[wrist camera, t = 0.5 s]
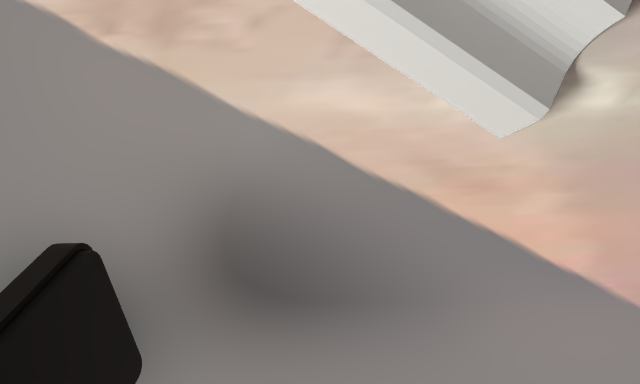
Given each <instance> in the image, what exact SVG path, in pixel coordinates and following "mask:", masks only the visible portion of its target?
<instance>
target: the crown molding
mask: <svg viewBox="0 0 640 384" xmlns="http://www.w3.org/2000/svg"><path fill="white" fill-rule="evenodd" d="M293 1H294V2H296V3H297V4H299V5H300V6H302V7H303V8H305V9H306V10H308V11H309V12H311V13H312V14H314V15H315V16H317V17H318V18H320V19H321V20H323V21H324V22H326V23H327V24H329V25H330V26H332V27H333V28H335V29H336V30H338V31H339V32H341V33H342V34H344V35H345V36H347V37H348V38H350V39H351V40H353V41H354V42H356V43H357V44H359V45H360V46H362V47H363V48H365V49H366V50H368V51H369V52H371V53H372V54H374V55H375V56H377V57H378V58H380V59H381V60H383V61H384V62H386V63H387V64H389V65H390V66H392V67H393V68H395V69H396V70H398V71H399V72H401V73H402V74H404V75H405V76H407V77H408V78H410V79H411V80H413V81H414V82H416V83H417V84H419V85H420V86H422V87H423V88H425V89H426V90H428V91H429V92H431V93H432V94H434V95H435V96H437V97H438V98H440V99H441V100H443V101H444V102H446V103H447V104H449V105H450V106H452V107H453V108H455V109H456V110H458V111H459V112H461V113H462V114H464V115H465V116H467V117H468V118H470V119H471V120H473V121H474V122H476V123H477V124H479V125H480V126H481V127H483V128H484V129H486V130H487V131H489V132H490V133H492V134H493V135H495V136H496V137H498V138H499V139H501V138H503V137H505V136H507V135H509V134H512V133H514V132H516V131H518V130H520V129H522V128H524V127H527V126H529V125H531V124H533V123H535V122H537V121H539V120H541V118H542V117H543V116H544V115H545V114H546V113H547V112H548V111H549V110H550V108H551V106H552V103H553V101H554V99H555V97H556V94H557V92H558V90H559V88H560V85H561V83H562V81H563V79H564V76H565V74H566V72H567V70H568V69H569V67H570V65H571V64H572V62H573V61H574V59H575V58H576V57H577V55H578V54H579V53H580V52H581V51H582V50H583V49H584V47H585V46H586V45H587V44H588V43H589V42H591V41H592V40H593V39H594V38H595V37H596V36H597V35H599V34H600V33H601V32H602V31H604V30H605V29H606V28H608V27H609V26H611V25H612V24H614V23H615V22H617V21H619V20H620V19H622V18H624V17H625V16H626V14H627V11H628V9H629V6H630V4H631V2H632V0H293Z"/></svg>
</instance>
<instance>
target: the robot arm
mask: <svg viewBox="0 0 640 384" xmlns="http://www.w3.org/2000/svg"><path fill="white" fill-rule="evenodd" d="M141 368H142V359H141V355H140V353H139V350H138V348H137V345H136V343H135V340H134V338H133V335H132V333H131V331H130V328H129V326H128V323H127V321H126V318H125V316H124V313H123V311H122V309H121V306H120V303H119V301H118V298H117V296H116V293H115V291H114V289H113V286H112V284H111V281H110V279H109V276H108V274H107V271H106V269H105V266H104V264H103V262H102V259H101V257H100V255H99V254H98V253H97V252H95V251H93V250H92V248H91V247H90V246H88V245H87V244H84V243H62V244H60V243H59V244H53V245H51V246H50V247H48V248H47V249H46V250H45V251H44V252H43V253H42V254H41V255H40V256H39V257H37V258H36V259H35V260H34V261H33V262H32V263H31V264H30V265H29V266H28V267H27V268H26V269H25V270H24V271H23V272H22V273H21V274H20V275H19V276H18V277H16V278H15V279H14V280H13V281H12V282H11V283H10V284H9V285H8V286H7V287H6V288H5V289H4V290H3V291H2V292H1V293H0V384H135V383H136V381H137V379H138V377H139V375H140V372H141Z"/></svg>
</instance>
